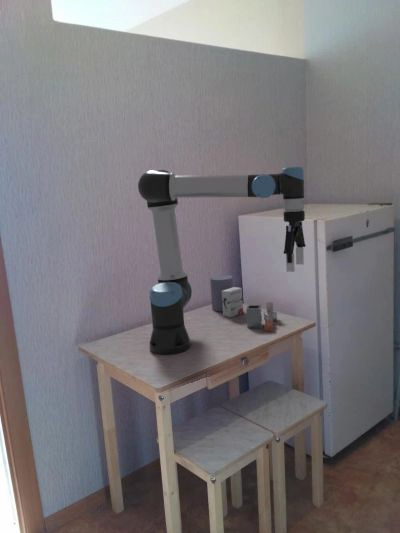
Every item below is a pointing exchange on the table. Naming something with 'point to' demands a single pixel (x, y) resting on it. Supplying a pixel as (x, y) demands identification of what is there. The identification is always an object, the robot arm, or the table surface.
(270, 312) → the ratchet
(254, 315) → the socket
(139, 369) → the table surface
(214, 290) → the container
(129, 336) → the table surface
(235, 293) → the ink box
